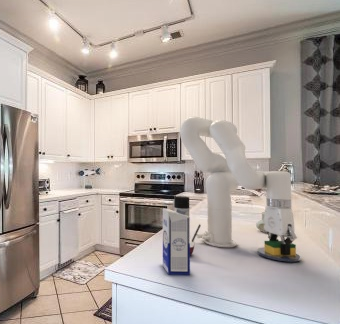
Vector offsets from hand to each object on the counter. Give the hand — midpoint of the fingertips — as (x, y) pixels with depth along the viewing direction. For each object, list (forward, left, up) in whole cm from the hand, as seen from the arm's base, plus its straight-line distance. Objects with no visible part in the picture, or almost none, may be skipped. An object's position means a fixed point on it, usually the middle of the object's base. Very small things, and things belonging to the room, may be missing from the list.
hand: (279, 251), depth 94 cm
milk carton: (-43, -13, -2) cm, 45 cm away
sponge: (0, 0, -1) cm, 1 cm away
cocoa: (-34, +2, -2) cm, 34 cm away
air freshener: (+22, +38, -2) cm, 44 cm away
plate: (0, +1, -2) cm, 2 cm away
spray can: (-29, +22, -2) cm, 36 cm away
